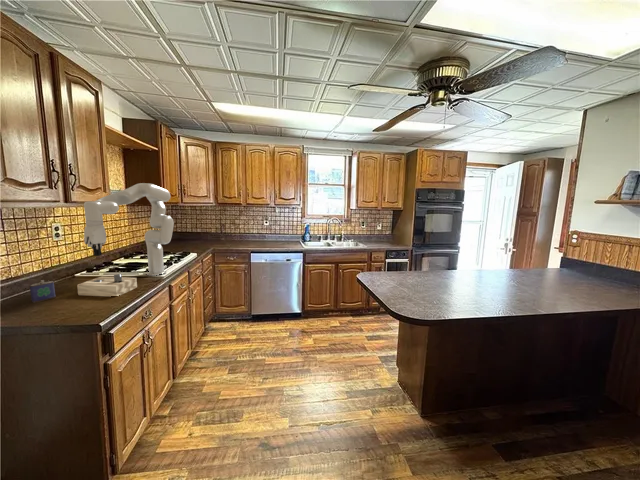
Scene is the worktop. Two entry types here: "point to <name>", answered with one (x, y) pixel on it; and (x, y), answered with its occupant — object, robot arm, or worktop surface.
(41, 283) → the flask
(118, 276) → the peg
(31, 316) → the worktop surface
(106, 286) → the maple block
